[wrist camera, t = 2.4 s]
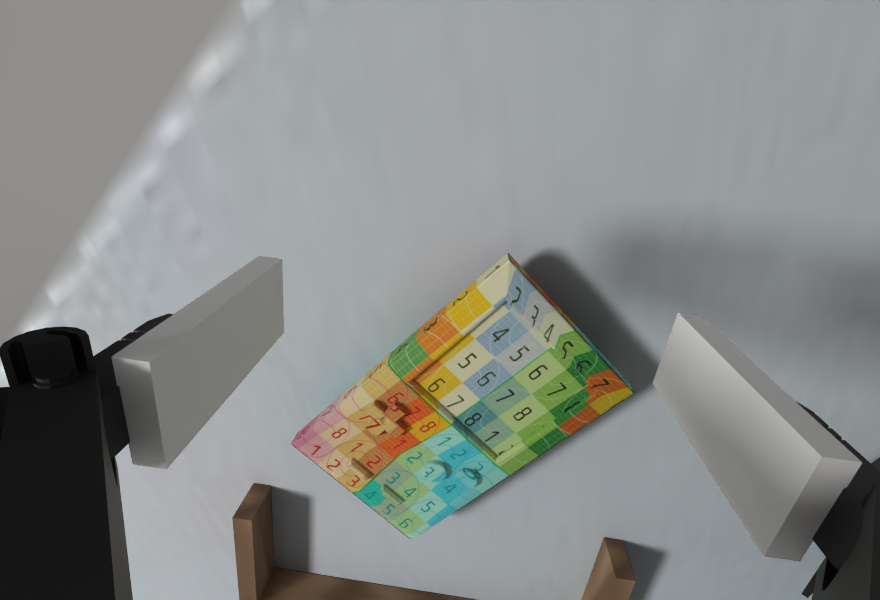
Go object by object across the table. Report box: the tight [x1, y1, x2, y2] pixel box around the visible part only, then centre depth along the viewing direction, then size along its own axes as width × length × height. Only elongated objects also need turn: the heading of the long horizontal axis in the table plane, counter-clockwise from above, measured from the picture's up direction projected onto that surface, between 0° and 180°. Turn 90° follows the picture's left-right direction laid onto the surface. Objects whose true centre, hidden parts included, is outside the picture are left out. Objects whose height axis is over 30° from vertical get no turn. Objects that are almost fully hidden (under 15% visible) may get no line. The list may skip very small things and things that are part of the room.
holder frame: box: [233, 484, 636, 600], centre depth 38 cm, size 31×12×4 cm, turn 83°
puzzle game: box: [292, 253, 635, 539], centre depth 31 cm, size 12×5×20 cm
